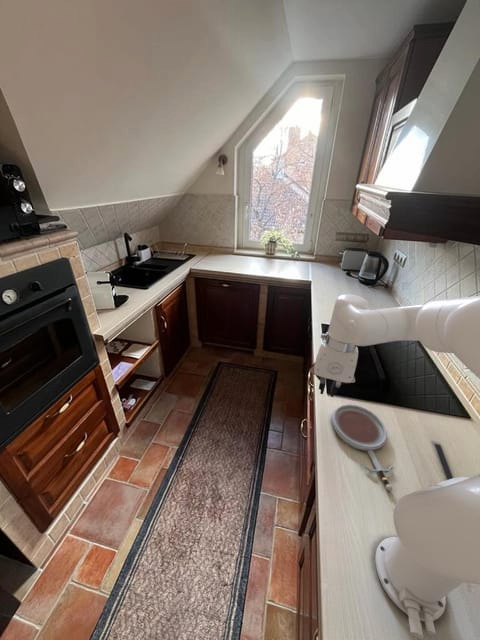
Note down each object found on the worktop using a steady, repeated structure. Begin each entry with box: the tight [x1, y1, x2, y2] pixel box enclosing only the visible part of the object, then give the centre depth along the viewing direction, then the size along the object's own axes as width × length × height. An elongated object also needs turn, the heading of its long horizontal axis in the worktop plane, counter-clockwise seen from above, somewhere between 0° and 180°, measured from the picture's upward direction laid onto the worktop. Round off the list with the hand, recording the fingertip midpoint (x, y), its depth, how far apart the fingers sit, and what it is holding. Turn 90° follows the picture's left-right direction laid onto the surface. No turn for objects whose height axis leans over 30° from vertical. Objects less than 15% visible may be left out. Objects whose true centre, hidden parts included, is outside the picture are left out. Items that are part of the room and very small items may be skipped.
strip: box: [434, 443, 454, 480], centre depth 75 cm, size 12×2×1 cm, turn 161°
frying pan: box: [331, 403, 394, 492], centre depth 79 cm, size 17×3×28 cm
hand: (326, 391), depth 75 cm, fingers closed
